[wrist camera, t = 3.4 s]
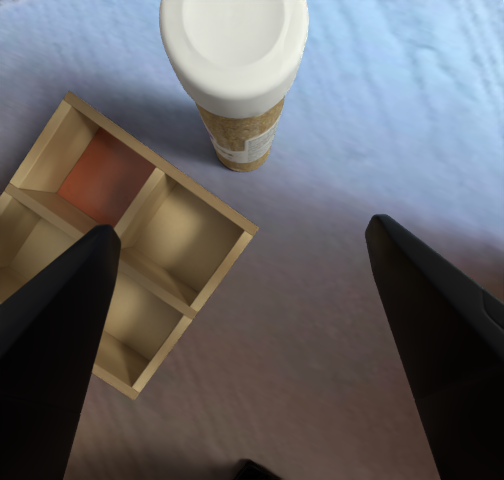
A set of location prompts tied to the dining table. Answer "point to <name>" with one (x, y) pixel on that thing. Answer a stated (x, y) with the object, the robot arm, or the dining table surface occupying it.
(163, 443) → the dining table surface
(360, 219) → the dining table surface
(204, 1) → the sprinkles bottle
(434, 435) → the robot arm
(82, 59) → the dining table surface
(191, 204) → the grid
